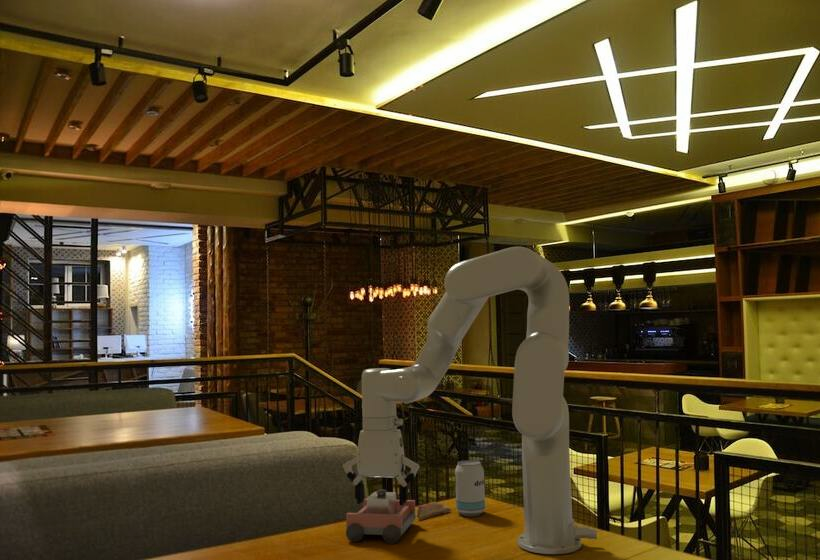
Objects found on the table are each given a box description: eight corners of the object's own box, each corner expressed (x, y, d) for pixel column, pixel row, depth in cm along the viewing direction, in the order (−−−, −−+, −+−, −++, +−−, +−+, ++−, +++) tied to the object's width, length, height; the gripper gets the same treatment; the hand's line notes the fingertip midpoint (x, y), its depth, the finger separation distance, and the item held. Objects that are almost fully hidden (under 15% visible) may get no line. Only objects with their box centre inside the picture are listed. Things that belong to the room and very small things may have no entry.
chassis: (416, 523, 151) (415, 499, 152) (400, 544, 137) (399, 517, 137) (366, 521, 154) (365, 497, 155) (345, 541, 140) (344, 515, 140)
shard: (417, 523, 154) (417, 515, 154) (397, 516, 160) (397, 508, 160) (452, 514, 161) (451, 506, 161) (431, 508, 167) (431, 500, 167)
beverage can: (477, 519, 154) (475, 466, 155) (451, 515, 157) (449, 464, 158) (490, 511, 160) (488, 461, 161) (464, 508, 163) (462, 458, 164)
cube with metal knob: (396, 515, 148) (395, 487, 149) (389, 522, 142) (388, 494, 143) (375, 514, 149) (374, 487, 150) (367, 521, 144) (366, 493, 144)
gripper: (421, 422, 149) (423, 500, 148) (348, 421, 153) (349, 497, 152) (413, 426, 142) (416, 509, 140) (337, 426, 146) (338, 506, 144)
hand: (381, 503), depth 146 cm, fingers open, 9 cm apart
